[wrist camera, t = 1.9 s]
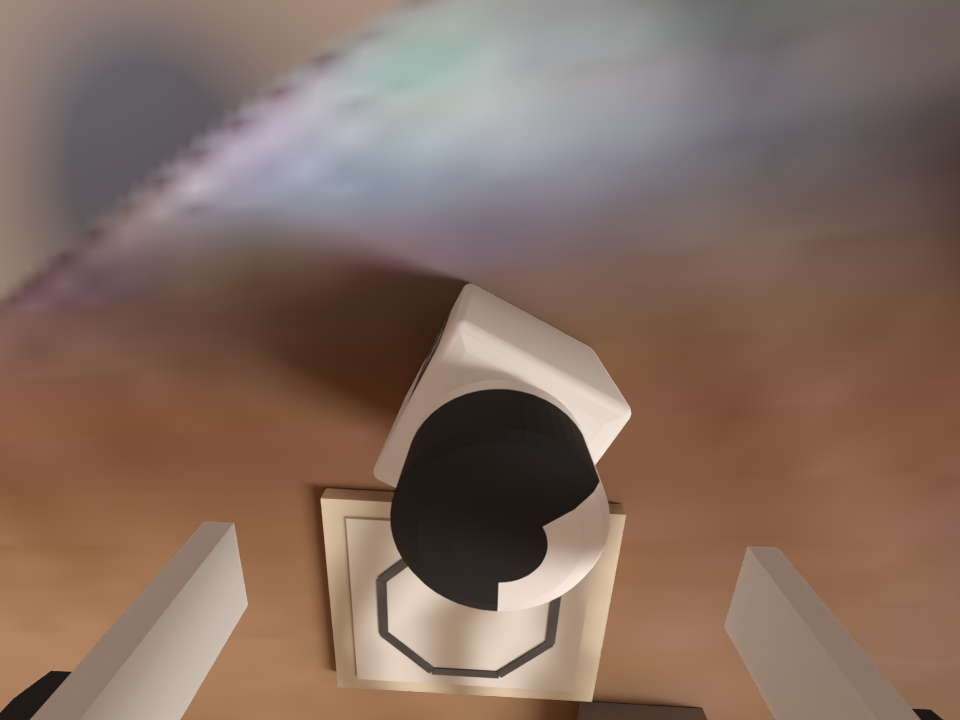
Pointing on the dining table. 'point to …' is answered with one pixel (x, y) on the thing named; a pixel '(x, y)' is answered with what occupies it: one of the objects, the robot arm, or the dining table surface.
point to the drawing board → (453, 618)
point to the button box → (636, 712)
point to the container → (502, 459)
